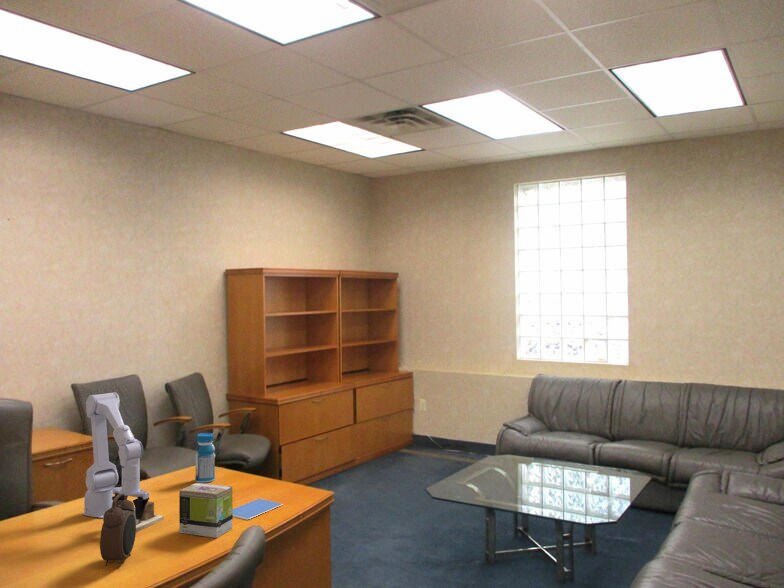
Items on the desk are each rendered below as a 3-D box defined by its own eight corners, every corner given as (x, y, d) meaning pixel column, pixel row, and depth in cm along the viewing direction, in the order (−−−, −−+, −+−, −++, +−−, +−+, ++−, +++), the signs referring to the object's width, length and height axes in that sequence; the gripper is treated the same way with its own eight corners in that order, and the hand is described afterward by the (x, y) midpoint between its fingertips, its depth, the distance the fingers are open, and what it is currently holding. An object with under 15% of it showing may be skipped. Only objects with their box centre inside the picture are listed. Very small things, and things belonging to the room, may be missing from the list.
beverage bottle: (204, 484, 264) (204, 437, 265) (190, 481, 269) (190, 435, 269) (219, 479, 272) (219, 433, 272) (205, 476, 276) (205, 431, 276)
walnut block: (145, 514, 224) (145, 500, 224) (153, 516, 223) (154, 502, 223) (136, 518, 221) (136, 504, 221) (145, 519, 219) (145, 505, 219)
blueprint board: (111, 528, 214) (111, 525, 214) (141, 515, 227) (141, 512, 227) (134, 533, 210) (134, 529, 210) (163, 519, 223) (163, 515, 223)
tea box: (233, 528, 215) (233, 485, 215) (216, 539, 205) (216, 494, 205) (196, 523, 220) (196, 481, 220) (178, 533, 210) (178, 489, 210)
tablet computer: (259, 501, 245) (259, 497, 245) (284, 506, 239) (284, 503, 239) (222, 515, 229) (222, 512, 229) (248, 522, 222) (248, 518, 222)
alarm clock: (123, 572, 181) (123, 502, 181) (97, 572, 180) (97, 503, 180) (139, 551, 195) (140, 487, 195) (115, 552, 195) (116, 488, 195)
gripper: (105, 478, 214) (105, 518, 214) (138, 483, 209) (138, 523, 209) (121, 473, 221) (121, 511, 221) (153, 477, 215) (153, 516, 215)
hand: (130, 517), depth 215 cm, fingers open, 7 cm apart
